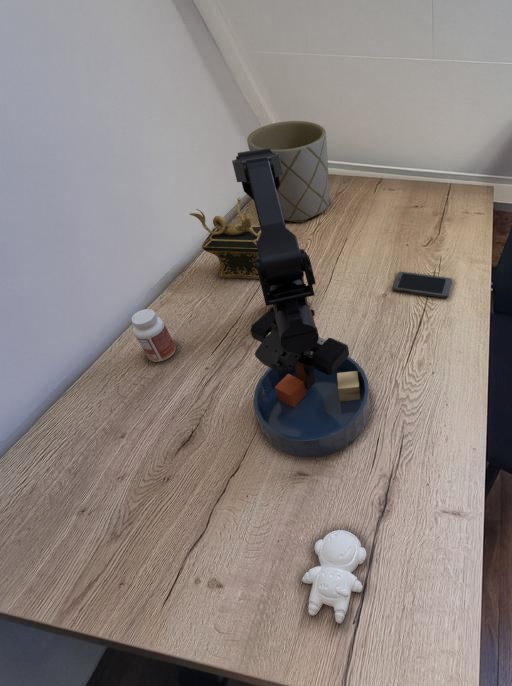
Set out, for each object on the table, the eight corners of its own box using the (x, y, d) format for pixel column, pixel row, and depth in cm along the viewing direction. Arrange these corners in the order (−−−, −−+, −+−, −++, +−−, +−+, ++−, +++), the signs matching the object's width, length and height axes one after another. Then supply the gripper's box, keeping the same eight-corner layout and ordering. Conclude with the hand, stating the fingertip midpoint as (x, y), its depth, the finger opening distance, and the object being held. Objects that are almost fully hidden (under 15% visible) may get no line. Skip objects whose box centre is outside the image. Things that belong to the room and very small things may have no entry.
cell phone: (447, 298, 110) (448, 296, 110) (392, 290, 113) (392, 288, 113) (452, 280, 115) (452, 278, 115) (398, 273, 119) (398, 271, 118)
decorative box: (281, 260, 126) (267, 194, 112) (272, 281, 119) (256, 214, 105) (213, 257, 128) (191, 193, 115) (200, 278, 121) (175, 212, 108)
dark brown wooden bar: (298, 385, 90) (290, 346, 82) (306, 377, 91) (299, 339, 84) (308, 390, 89) (300, 352, 81) (315, 382, 90) (309, 343, 83)
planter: (304, 233, 136) (292, 156, 120) (248, 215, 145) (230, 142, 129) (347, 200, 149) (341, 127, 133) (293, 185, 159) (281, 116, 143)
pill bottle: (175, 339, 104) (158, 303, 97) (177, 358, 100) (159, 321, 92) (147, 347, 103) (127, 310, 95) (147, 366, 99) (126, 329, 91)
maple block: (338, 385, 91) (337, 372, 89) (358, 383, 92) (357, 370, 89) (340, 401, 88) (338, 389, 86) (360, 399, 89) (359, 386, 86)
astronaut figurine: (291, 609, 63) (288, 602, 61) (323, 526, 71) (321, 517, 69) (351, 630, 61) (349, 624, 59) (376, 542, 69) (375, 534, 67)
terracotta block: (278, 399, 89) (274, 386, 87) (291, 386, 92) (288, 373, 89) (293, 408, 88) (290, 395, 85) (306, 394, 90) (303, 381, 87)
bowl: (236, 423, 87) (229, 406, 83) (306, 353, 99) (303, 335, 96) (325, 479, 77) (321, 462, 74) (390, 393, 90) (390, 375, 86)
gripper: (218, 320, 76) (240, 379, 87) (305, 362, 68) (317, 422, 79) (263, 284, 83) (279, 343, 93) (347, 319, 75) (353, 379, 85)
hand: (305, 371), depth 87 cm, fingers closed on dark brown wooden bar, 2 cm apart
